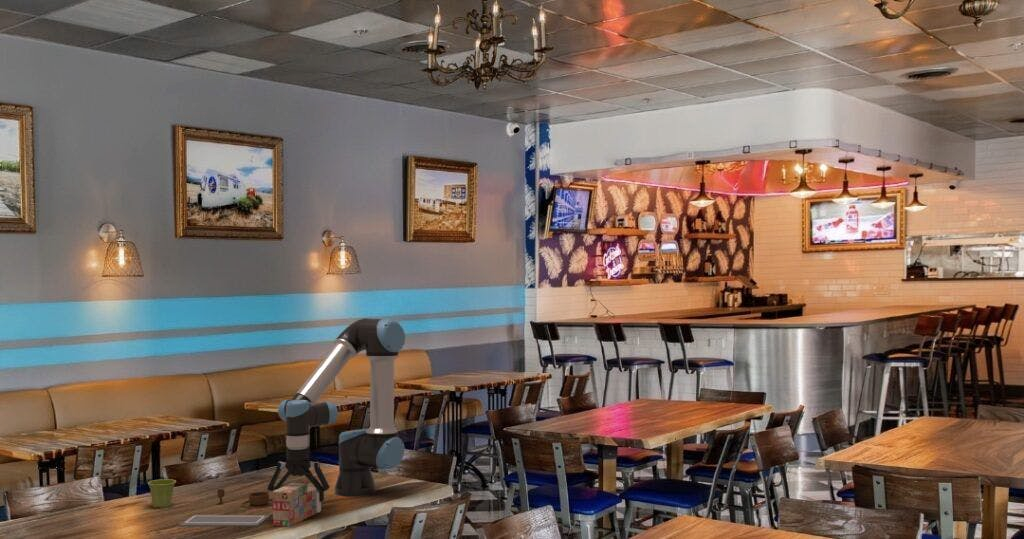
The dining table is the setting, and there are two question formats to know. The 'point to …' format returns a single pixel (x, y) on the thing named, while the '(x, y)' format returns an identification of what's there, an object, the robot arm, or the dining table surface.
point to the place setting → (251, 499)
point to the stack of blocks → (293, 504)
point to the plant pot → (161, 492)
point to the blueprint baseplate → (224, 520)
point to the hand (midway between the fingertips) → (298, 511)
